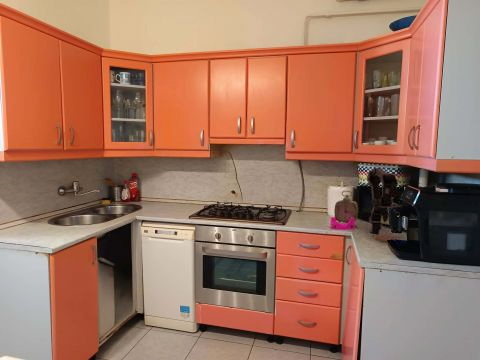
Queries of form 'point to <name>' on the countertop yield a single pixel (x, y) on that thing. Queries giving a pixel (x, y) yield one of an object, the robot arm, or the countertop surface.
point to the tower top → (386, 233)
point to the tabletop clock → (346, 209)
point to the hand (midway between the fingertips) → (386, 221)
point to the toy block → (342, 226)
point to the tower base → (384, 238)
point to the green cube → (383, 220)
